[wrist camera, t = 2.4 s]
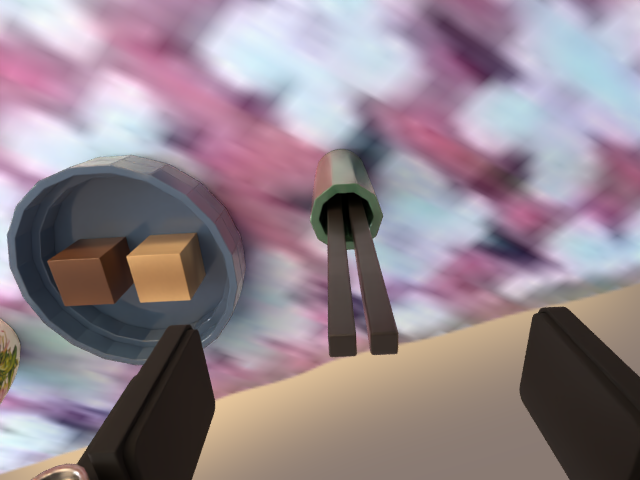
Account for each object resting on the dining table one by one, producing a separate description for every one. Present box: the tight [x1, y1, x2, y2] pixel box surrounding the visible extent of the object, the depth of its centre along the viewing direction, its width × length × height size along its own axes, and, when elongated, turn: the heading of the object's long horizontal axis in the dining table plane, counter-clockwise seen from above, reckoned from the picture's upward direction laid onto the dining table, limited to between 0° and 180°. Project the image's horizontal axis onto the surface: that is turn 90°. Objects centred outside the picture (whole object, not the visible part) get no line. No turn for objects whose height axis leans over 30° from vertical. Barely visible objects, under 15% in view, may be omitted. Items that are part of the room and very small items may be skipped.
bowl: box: [7, 155, 246, 365], centre depth 31 cm, size 17×17×4 cm
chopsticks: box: [327, 192, 398, 357], centre depth 20 cm, size 1×2×20 cm, turn 94°
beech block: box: [127, 233, 206, 303], centre depth 30 cm, size 4×4×4 cm
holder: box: [310, 149, 383, 250], centre depth 25 cm, size 4×4×10 cm
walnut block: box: [47, 237, 134, 306], centre depth 30 cm, size 4×4×4 cm
